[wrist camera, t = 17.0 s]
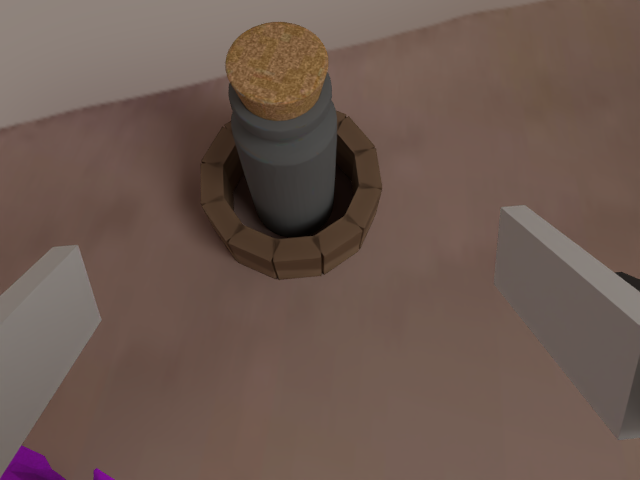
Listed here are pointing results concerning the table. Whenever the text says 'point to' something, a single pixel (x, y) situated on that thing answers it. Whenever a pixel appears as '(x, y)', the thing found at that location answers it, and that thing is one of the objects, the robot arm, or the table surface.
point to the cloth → (36, 468)
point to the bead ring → (301, 252)
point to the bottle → (284, 125)
